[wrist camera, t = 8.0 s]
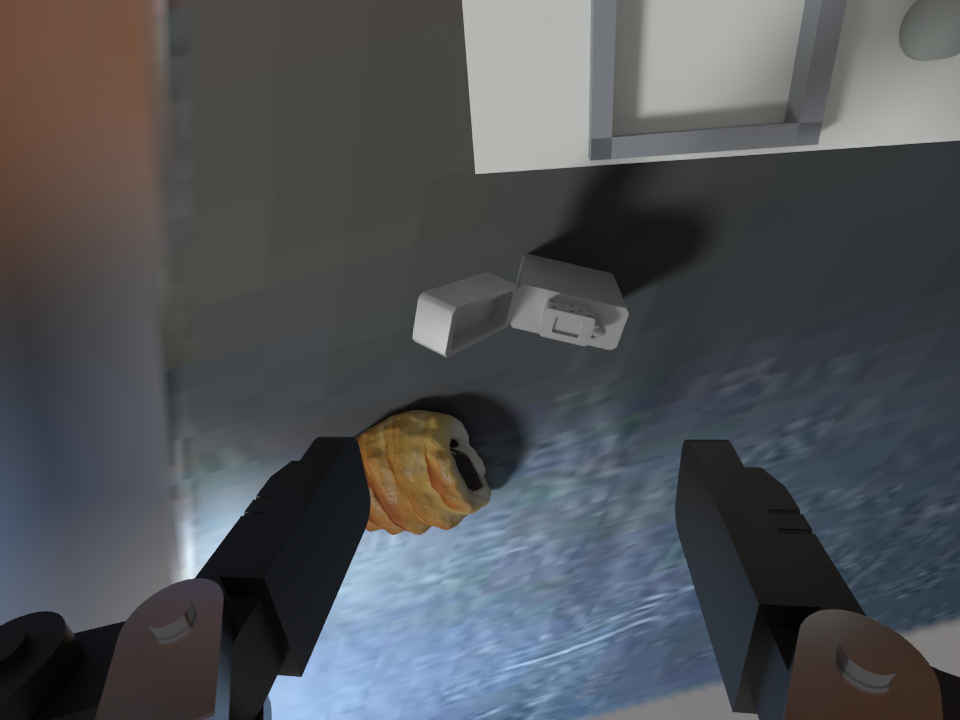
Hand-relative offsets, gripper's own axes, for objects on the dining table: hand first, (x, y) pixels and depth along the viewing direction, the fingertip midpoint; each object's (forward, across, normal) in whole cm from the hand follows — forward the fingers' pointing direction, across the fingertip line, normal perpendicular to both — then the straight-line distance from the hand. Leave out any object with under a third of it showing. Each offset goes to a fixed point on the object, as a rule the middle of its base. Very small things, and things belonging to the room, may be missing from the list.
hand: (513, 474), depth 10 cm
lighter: (+14, 0, 0) cm, 14 cm away
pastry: (+14, +7, +11) cm, 19 cm away
